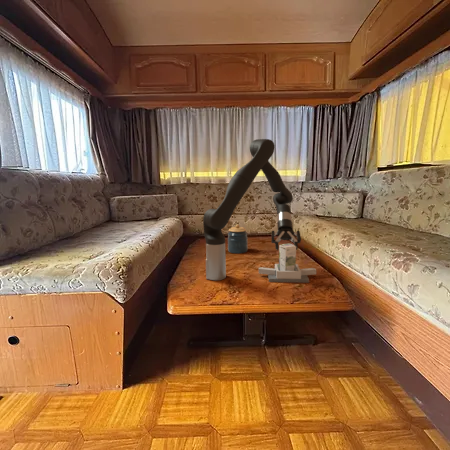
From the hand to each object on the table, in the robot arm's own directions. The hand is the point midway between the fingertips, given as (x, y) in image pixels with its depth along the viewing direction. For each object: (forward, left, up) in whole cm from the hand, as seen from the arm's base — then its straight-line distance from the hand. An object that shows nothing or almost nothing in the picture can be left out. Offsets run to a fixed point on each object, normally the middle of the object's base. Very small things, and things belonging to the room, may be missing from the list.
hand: (286, 249), depth 136 cm
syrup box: (0, -4, -11) cm, 12 cm away
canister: (-26, +43, -13) cm, 52 cm away
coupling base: (0, -4, -13) cm, 13 cm away
